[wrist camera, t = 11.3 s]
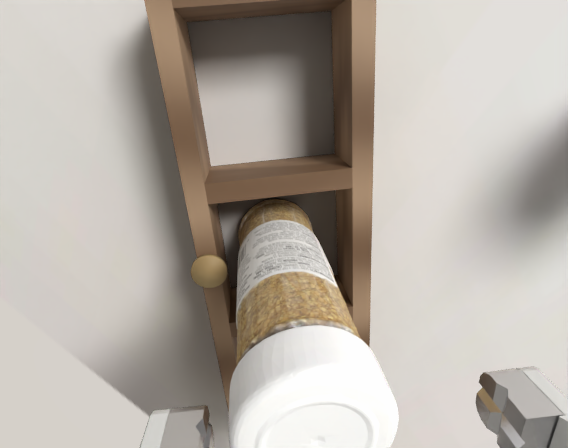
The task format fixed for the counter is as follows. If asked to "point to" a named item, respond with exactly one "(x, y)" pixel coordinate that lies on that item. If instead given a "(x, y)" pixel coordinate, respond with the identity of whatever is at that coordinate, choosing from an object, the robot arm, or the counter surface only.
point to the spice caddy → (274, 173)
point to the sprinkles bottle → (299, 346)
